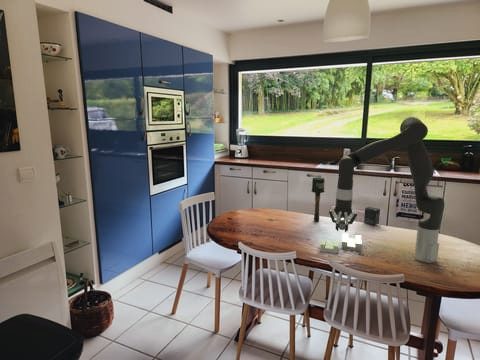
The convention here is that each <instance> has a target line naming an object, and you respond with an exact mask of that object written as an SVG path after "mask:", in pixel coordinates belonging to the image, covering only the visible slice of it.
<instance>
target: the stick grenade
mask: <svg viewBox="0 0 480 360" xmlns="http://www.w3.org/2000/svg"><path fill="white" fill-rule="evenodd" d="M310 191H311V193H315V194H314V196H315V198H314V200H315V201H314V203H315V204H314V214H313V216H314V217H313V222H317V223H318V222H320V202H321V201H320V200H321V194H323V193H325V178H324V177H319V176H315V177H312V180H311V190H310Z"/></svg>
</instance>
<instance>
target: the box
mask: <svg viewBox="0 0 480 360" xmlns="http://www.w3.org/2000/svg"><path fill="white" fill-rule="evenodd" d="M380 215H381V209H380V208H378V207H377V208H376V207H373V206H366V207H365V208H364V217H363V218H364V219H363V223H364V224H367V225H371V226H378V225H379V224H380Z"/></svg>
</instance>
